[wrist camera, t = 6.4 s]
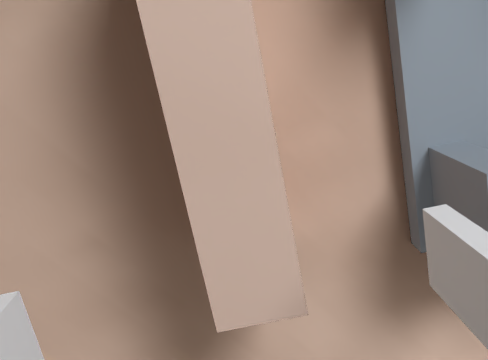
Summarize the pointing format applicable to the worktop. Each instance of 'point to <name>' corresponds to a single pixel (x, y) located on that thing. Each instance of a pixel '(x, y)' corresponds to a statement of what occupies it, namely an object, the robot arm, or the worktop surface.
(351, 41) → the worktop surface
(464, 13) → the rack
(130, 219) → the worktop surface
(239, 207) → the tan rectangular block
